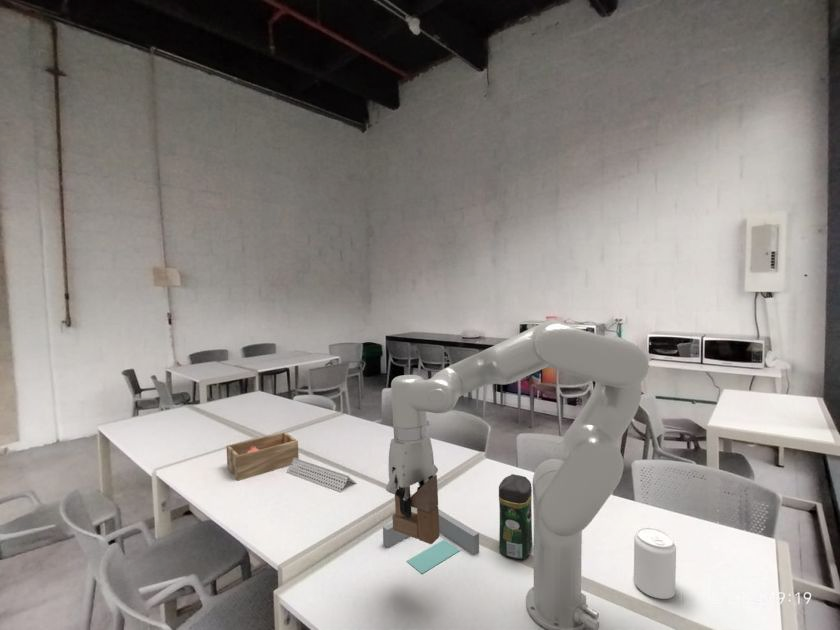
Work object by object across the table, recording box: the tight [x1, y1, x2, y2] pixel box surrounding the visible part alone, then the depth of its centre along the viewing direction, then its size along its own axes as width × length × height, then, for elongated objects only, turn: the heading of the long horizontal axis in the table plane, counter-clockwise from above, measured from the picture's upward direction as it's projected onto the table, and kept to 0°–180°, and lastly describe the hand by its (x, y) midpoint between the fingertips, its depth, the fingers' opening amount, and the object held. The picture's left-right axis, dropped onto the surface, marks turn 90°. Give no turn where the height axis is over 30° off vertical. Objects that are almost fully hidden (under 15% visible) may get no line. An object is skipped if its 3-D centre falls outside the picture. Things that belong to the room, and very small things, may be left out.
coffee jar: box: [498, 473, 533, 560], centre depth 104 cm, size 10×8×19 cm
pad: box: [406, 539, 461, 575], centre depth 102 cm, size 6×13×1 cm, turn 130°
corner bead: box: [286, 458, 357, 494], centre depth 147 cm, size 29×9×5 cm, turn 56°
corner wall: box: [382, 508, 480, 556], centre depth 105 cm, size 19×17×5 cm
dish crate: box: [226, 431, 300, 482], centre depth 158 cm, size 14×23×9 cm, turn 130°
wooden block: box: [391, 474, 441, 545], centre depth 90 cm, size 4×11×18 cm, turn 55°
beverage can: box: [633, 527, 677, 600], centre depth 90 cm, size 8×8×12 cm
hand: (414, 509), depth 90 cm, fingers closed on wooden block, 4 cm apart
